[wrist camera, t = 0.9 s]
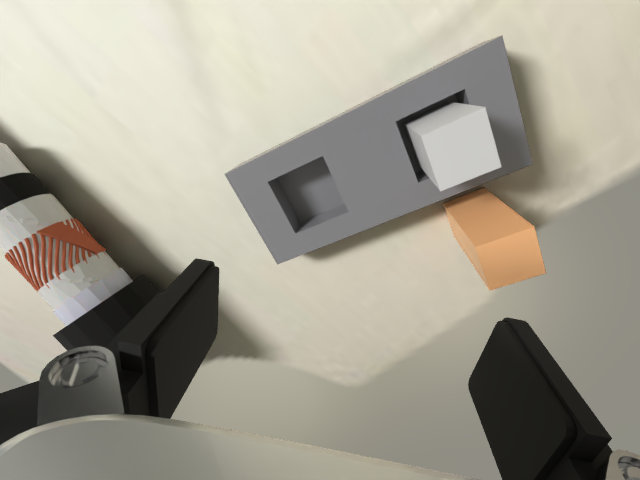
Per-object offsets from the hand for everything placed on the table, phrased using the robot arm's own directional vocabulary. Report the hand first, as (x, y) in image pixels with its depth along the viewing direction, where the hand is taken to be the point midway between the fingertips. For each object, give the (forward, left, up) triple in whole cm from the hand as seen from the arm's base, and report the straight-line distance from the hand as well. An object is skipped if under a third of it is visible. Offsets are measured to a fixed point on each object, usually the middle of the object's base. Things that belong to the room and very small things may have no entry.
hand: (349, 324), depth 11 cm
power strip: (-2, 0, -24) cm, 24 cm away
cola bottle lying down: (+31, -5, -24) cm, 40 cm away
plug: (-9, +9, -24) cm, 27 cm away
